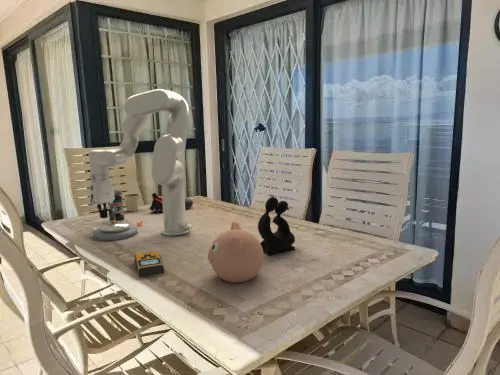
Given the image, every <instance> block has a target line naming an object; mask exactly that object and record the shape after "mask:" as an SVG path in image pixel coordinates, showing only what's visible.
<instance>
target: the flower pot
mask: <svg viewBox="0 0 500 375" xmlns="http://www.w3.org/2000/svg"><path fill="white" fill-rule="evenodd" d="M140 196H141V194H140V193H127V194H126V193H125V194H123V195H122V199H123V201H124V203H125V204H124V205H125V208H126V209H125V210H126V211H127V212H136V211H139V208H140V207H139V204H140Z"/></svg>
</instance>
